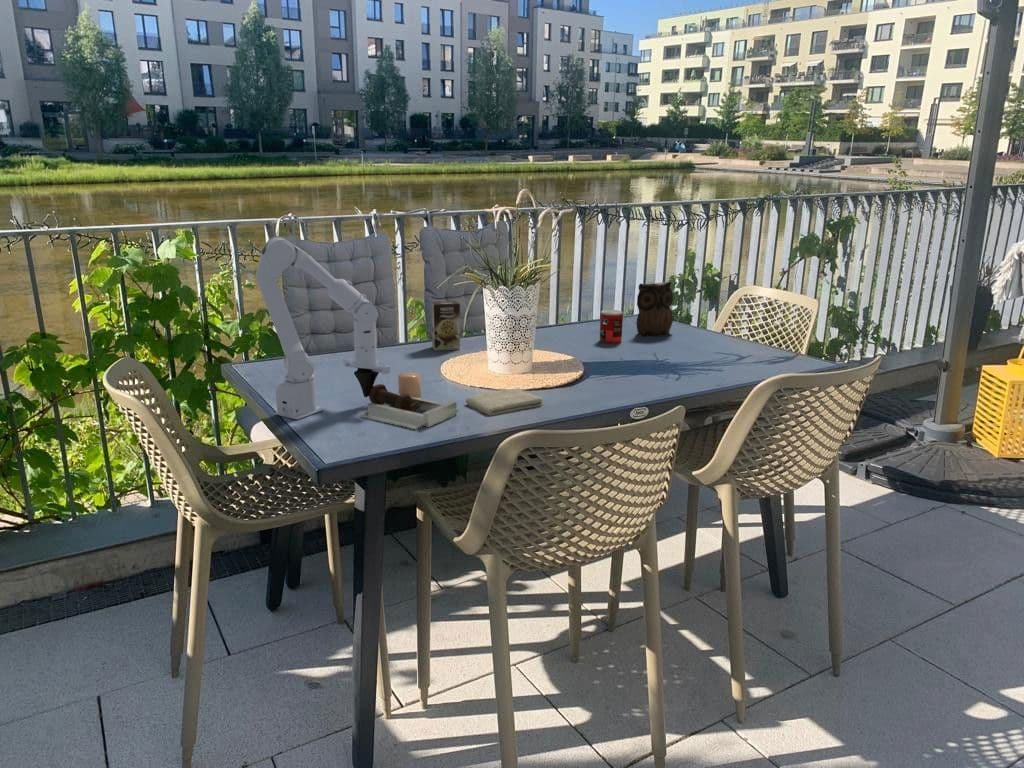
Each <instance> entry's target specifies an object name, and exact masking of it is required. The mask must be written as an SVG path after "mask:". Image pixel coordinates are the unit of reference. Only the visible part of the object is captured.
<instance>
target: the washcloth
mask: <svg viewBox="0 0 1024 768" xmlns="http://www.w3.org/2000/svg"><path fill="white" fill-rule="evenodd" d="M465 403H466V404H467V405H468V406H469V407H471V408H473V409H476V410H478V411H479V412H480V413H482V412H483V413H482V414H484V413H485V415H486V414H487V416H496V415H499V414H500V413H501V414H504V413H511V412H515V411H516V412H517V411H519V410H520V411H521V410H525V409H530V408H534V407H542V406H543V397H540V396H538V395H534V394H532V393H530V392H528V391H527V390H525V389H522V388H520V387H518V388H517V387H516V388H514V389H505V388H501V389H498V390H496V391H495V390H494V391H488V392H482V393H478V394H473V395H470V396H468V397H467V398H466V400H465Z"/></svg>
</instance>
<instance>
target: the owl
mask: <svg viewBox="0 0 1024 768" xmlns="http://www.w3.org/2000/svg"><path fill="white" fill-rule="evenodd" d="M671 285H672V281H667V282H666V281H665V282H650V283H639V285H638V294H637V299H636V302H637V303H636V306H637V308H638V315H637V317H636V331H637V335H638V336H639V335H641V336H640V337H648V336H651V337H660V336H659V335H664V336H667V335H668V333H669V334H670V330H671V328H672V325H673V322H674V320H675V319H674V317H673V315H674V312H673V311H672V309H671V305H672V304H673V302H674V296H673V295H674V292H673V290H672V288H671Z"/></svg>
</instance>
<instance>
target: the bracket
mask: <svg viewBox="0 0 1024 768" xmlns="http://www.w3.org/2000/svg"><path fill="white" fill-rule="evenodd" d="M396 394H397V395H401V394H399V392H398V393H396ZM410 397H411V398H412V399H413V400H416V401H418V402H419V404H420V407H419V409H418V410H421V411H425V412H423V413H419V412H411V411H406V410H402V409H397V408H396V407H394V406H388V405H383V404H380V405H379V404H375V403H372V402H371V403H368V404H367V411H366V412H363V413H360V414H359V417H360V418H363V419H367V418H368V420H372V421H377V422H380V423H384V422H385V423H384V424H388V423H389V425H392V424H394V425H393V426H397V425H398V426H397V427H401V426H403V427H402V428H405V427H407V428H406V429H409V428H411V429H410V430H413V429H415V430H414V431H417V430H419V429H421V428H423V427H422V426H426V427H425V428H427V427H429V428H431V427H433V426H435V425H434V424H436V425H438V424H440V423H442V422H444V420H445V421H447V420H449V419H451V418H454V417H456V416H457V413H458V412H460V408H457V401H453V400H451V401H448V402H446V403H444V402H440V401H435V400H431V399H425V398H421V397H420V398H417V397H412V396H410ZM455 415H456V416H455ZM453 416H454V417H453ZM446 419H447V420H446ZM439 422H440V423H439ZM437 423H438V424H437ZM432 425H433V426H432ZM430 426H431V427H430ZM420 427H421V428H420ZM418 428H419V429H418ZM416 429H417V430H416Z"/></svg>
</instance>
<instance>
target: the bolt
mask: <svg viewBox="0 0 1024 768" xmlns="http://www.w3.org/2000/svg"><path fill="white" fill-rule="evenodd" d="M368 398H369V401H370V402H371V403H375V404H379V405H383V404H386V405H389V406H391V407H394V408H397V409H402V410H406V411H411V412H415V413H418V411H419V410H420V409H419V407H420V404H419V402H418V401H416V400H413V399H412V398H411V397H410V395H409V394H401V395H397V393H394V392H390V391H388V389H387V387H386V385H385V384H381V383H380V384H376V385H373V387H372V389H371V391H370V394H369V396H368Z"/></svg>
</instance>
